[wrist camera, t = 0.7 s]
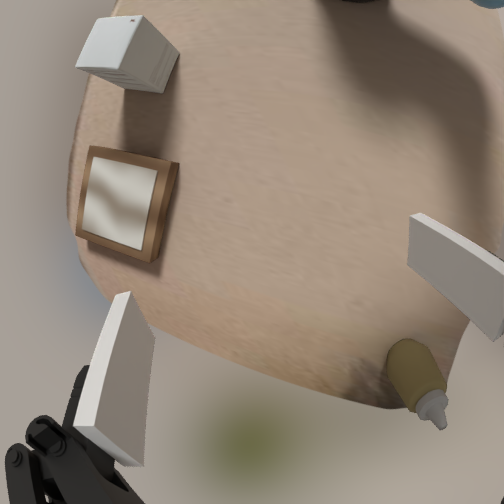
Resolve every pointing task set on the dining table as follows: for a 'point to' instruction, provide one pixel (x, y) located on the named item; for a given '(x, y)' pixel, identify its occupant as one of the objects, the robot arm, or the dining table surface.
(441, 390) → the squeeze bottle
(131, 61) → the supplement box
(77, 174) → the dining table surface
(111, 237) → the picture frame
